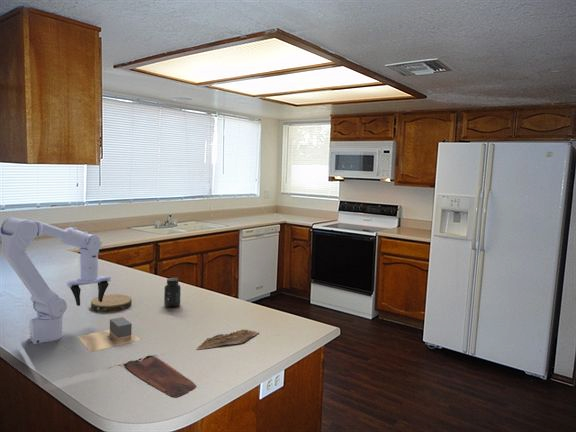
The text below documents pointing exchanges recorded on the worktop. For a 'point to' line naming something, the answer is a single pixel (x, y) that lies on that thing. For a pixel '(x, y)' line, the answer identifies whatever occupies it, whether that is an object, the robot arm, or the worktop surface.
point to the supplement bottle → (172, 293)
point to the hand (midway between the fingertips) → (89, 303)
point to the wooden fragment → (227, 339)
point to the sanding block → (120, 328)
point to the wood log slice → (111, 303)
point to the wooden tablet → (161, 376)
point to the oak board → (103, 340)
